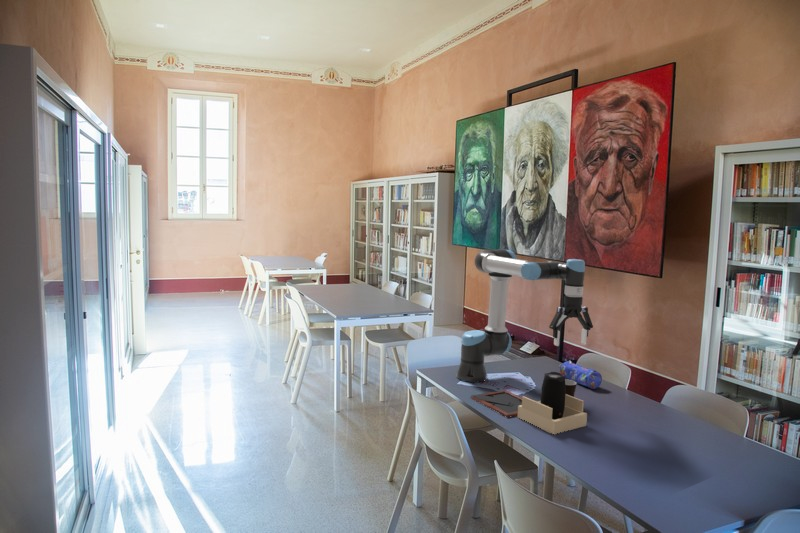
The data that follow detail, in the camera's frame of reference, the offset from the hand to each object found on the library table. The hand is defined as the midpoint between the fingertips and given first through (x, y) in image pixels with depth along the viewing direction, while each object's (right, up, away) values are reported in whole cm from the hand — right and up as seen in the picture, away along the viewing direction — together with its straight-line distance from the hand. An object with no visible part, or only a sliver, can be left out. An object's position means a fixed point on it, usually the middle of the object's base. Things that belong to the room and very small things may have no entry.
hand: (570, 344), depth 232 cm
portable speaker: (-12, -29, -13) cm, 34 cm away
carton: (-12, -29, -13) cm, 34 cm away
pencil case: (+17, -25, +40) cm, 50 cm away
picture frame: (-26, -27, +5) cm, 38 cm away
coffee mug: (+1, -27, +9) cm, 29 cm away
